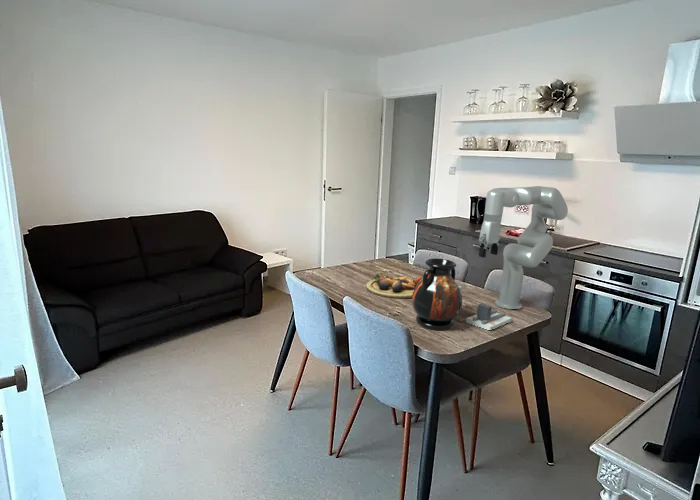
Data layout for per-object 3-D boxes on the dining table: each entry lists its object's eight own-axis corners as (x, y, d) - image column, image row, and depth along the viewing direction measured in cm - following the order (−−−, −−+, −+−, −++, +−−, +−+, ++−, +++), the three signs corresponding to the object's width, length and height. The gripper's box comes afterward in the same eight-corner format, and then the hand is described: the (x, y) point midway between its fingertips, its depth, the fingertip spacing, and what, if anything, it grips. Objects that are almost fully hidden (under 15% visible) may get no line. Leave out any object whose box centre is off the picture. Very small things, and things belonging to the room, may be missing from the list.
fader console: (487, 313, 202) (488, 307, 202) (511, 322, 194) (512, 315, 193) (465, 322, 191) (466, 315, 190) (489, 331, 182) (490, 324, 181)
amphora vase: (433, 311, 202) (438, 253, 196) (470, 327, 186) (477, 264, 179) (399, 319, 190) (404, 258, 183) (436, 338, 173) (443, 271, 167)
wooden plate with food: (423, 283, 246) (424, 269, 244) (426, 301, 215) (428, 285, 213) (368, 279, 249) (368, 266, 247) (363, 297, 218) (363, 281, 216)
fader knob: (480, 317, 191) (481, 303, 190) (490, 320, 188) (492, 306, 186) (476, 318, 189) (478, 304, 188) (486, 322, 186) (488, 307, 184)
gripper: (495, 216, 200) (490, 251, 204) (474, 218, 189) (470, 256, 193) (510, 218, 194) (505, 255, 198) (489, 221, 183) (484, 259, 187)
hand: (487, 255), depth 195 cm, fingers open, 9 cm apart
